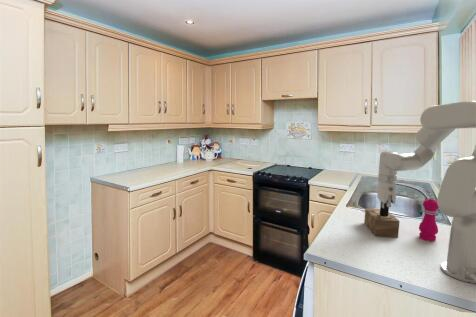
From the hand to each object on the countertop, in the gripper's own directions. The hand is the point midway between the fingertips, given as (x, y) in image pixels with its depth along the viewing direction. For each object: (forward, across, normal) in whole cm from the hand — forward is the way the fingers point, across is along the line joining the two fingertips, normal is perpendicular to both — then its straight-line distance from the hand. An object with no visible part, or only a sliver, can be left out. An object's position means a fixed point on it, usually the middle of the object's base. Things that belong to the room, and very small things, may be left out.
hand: (383, 215), depth 130 cm
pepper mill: (+9, -4, -18) cm, 20 cm away
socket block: (+9, +3, 0) cm, 9 cm away
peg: (+8, 0, 0) cm, 8 cm away
